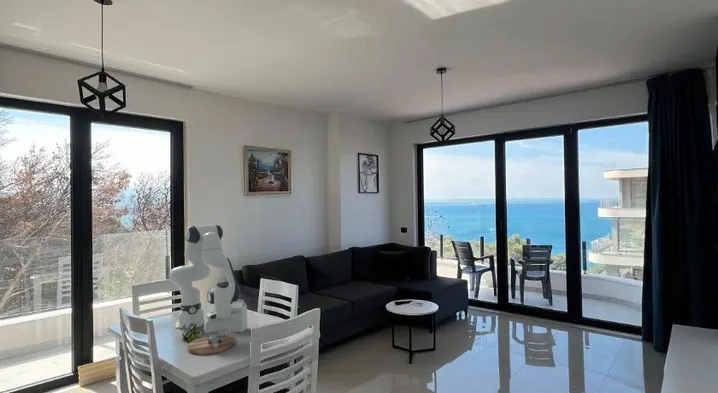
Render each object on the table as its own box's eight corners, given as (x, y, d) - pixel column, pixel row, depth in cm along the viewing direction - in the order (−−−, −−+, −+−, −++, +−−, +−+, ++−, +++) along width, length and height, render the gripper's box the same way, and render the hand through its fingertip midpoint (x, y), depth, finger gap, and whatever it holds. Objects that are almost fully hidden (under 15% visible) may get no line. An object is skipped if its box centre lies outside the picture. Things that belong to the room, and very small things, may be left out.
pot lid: (206, 341, 222) (206, 335, 222) (219, 338, 226) (219, 333, 226) (208, 345, 216) (208, 339, 216) (222, 342, 220) (222, 337, 220)
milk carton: (241, 332, 242) (241, 301, 242) (230, 332, 244) (230, 300, 244) (247, 328, 249) (246, 298, 249) (236, 328, 251) (236, 297, 251)
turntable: (184, 344, 224) (184, 329, 224) (228, 335, 236) (228, 322, 236) (191, 358, 204) (191, 342, 203) (239, 348, 216) (239, 333, 216)
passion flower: (184, 349, 233) (181, 329, 238) (204, 342, 237) (200, 323, 243) (182, 343, 224) (178, 323, 229) (202, 336, 228) (198, 317, 234)
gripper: (240, 308, 232) (240, 332, 232) (202, 314, 221) (203, 339, 221) (243, 310, 226) (244, 335, 226) (205, 317, 215) (205, 343, 215)
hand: (223, 337), depth 223 cm, fingers closed
